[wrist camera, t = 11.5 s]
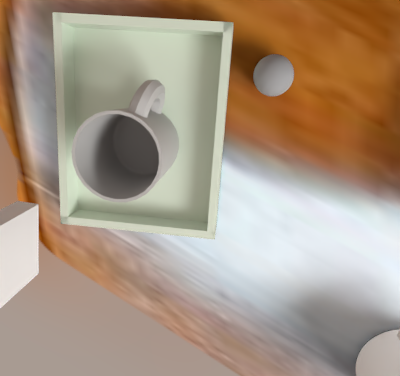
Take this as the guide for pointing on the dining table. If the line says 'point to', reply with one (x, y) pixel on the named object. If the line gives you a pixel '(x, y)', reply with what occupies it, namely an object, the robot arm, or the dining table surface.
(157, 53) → the tray
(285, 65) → the mixing ball
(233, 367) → the dining table surface
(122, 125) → the cup
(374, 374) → the cup
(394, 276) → the dining table surface
